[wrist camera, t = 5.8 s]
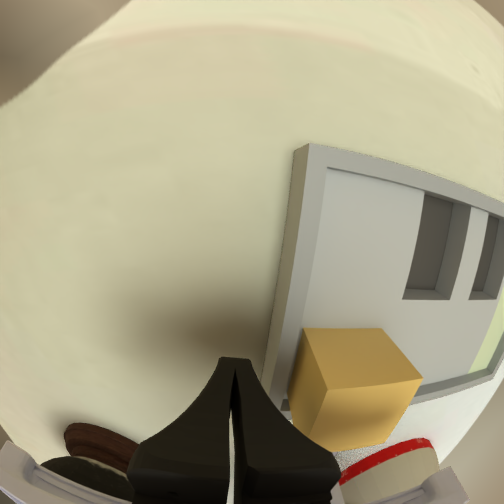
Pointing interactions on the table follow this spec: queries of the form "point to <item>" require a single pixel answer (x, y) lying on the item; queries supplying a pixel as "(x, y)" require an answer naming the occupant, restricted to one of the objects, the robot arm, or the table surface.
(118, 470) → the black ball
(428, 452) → the kitchen timer
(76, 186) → the table surface
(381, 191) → the box
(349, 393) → the block
